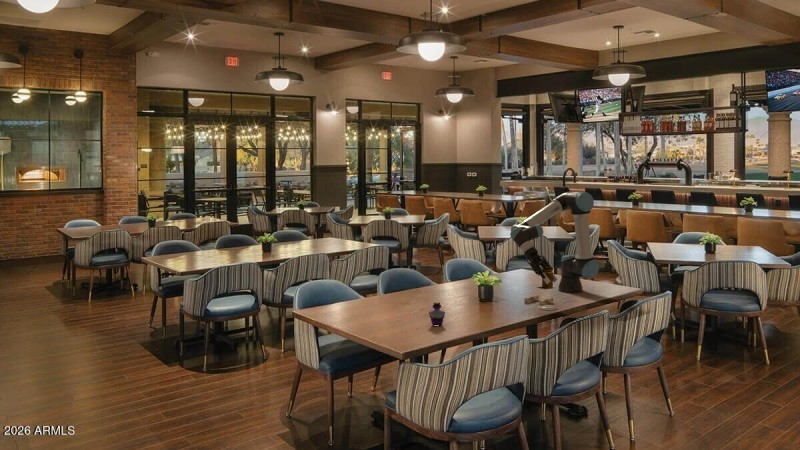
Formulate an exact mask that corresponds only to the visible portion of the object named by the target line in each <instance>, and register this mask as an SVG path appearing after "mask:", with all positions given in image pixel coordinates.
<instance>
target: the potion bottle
mask: <svg viewBox="0 0 800 450" xmlns="http://www.w3.org/2000/svg"><path fill="white" fill-rule="evenodd" d="M441 308H442V305H441V302H438V301H436V302H435V301H434V302H433V304H432V309H433V310H430V311H428V315H429V318H430V322H431V325H432V324H433V325H442V326H443V322H444V318H445V316H446V315H445V314H446V311H444V310H441Z"/></svg>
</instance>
